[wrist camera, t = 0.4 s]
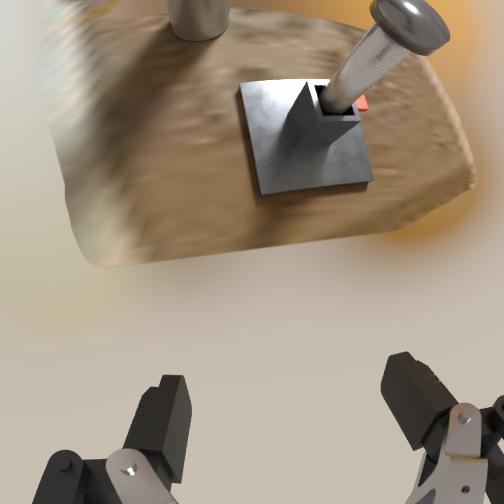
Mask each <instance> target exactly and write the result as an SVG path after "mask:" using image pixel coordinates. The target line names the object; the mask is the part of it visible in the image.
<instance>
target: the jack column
mask: <svg viewBox="0 0 504 504" xmlns="http://www.w3.org/2000/svg"><path fill="white" fill-rule="evenodd" d="M369 9H370V13H371V15H372V17H373V19H374V20H375V23H374V24H373V26H372V27H371V28H370V29H369V30H368V32H367V33H366V34H365V35H364V37H363V38H362V39H361V41H360V42H359V43H358V44H357V46H356V47H355V48H354V49H353V51H352V52H351V53H350V55H349V56H348V57H347V59H346V60H345V61H344V62H343V64H342V65H341V66H340V68H339V69H338V70H337V72H336V73H335V74H334V76H333V77H332V78H331V80H330V81H329V82H328V84H327V85H326V86H325V88H324V89H323V90H322V92H321V93H320V94H319V96H318V101H319V104H320V108H321V111H322V115H323V116H341V115H342V114H343V113H344V112H345V111H346V110H347V109H348V108H349V107H350V106H351V105H352V104H353V103H355V102H356V101H357V100H358V99H359V98H360V97H361V96H362V95H363V94H364V93H365V92H366V91H367V90H369V89H370V88H371V87H372V86H373V85H374V84H375V83H376V82H377V81H378V80H380V79H381V78H382V77H383V76H384V75H385V74H386V73H387V72H388V71H390V70H391V69H392V68H393V67H394V66H395V65H396V64H397V63H399V62H400V61H401V60H402V59H403V58H404V57H405V56H407V55H408V54H409V53H410V52H413V53H416V54H418V55H422V56H428V55H431V54H432V53H434V52H435V51H436V50H438V49H439V48H440V47H441V46H443V45H444V44H445V43H447V42H448V41H449V40H450V33H449V30H448V28H447V26H446V24H445V22H444V21H443V19H442V18H441V17H440V15H439V14H438V13H437V12H436V11H435V10H434V9H433V8H432V7H431V6H430V5H429V4H428V3H427V2H425V1H424V0H373V1H372V2H371V4H370V7H369Z"/></svg>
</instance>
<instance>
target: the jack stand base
mask: <svg viewBox="0 0 504 504" xmlns="http://www.w3.org/2000/svg"><path fill="white" fill-rule="evenodd" d="M329 81H330V80H319V79H296V80H271V81H256V82H245V83H240V86H239V90H240V95H241V100H242V105H243V110H244V115H245V120H246V125H247V130H248V135H249V140H250V145H251V151H252V156H253V161H254V166H255V172H256V177H257V183H258V188H259V193H260V196H265V195H271V194H278V193H285V192H292V191H299V190H306V189H314V188H322V187H330V186H338V185H347V184H357V183H366V182H371V181H374V180H373V175H372V170H371V166H370V161H369V157H368V153H367V149H366V145H365V141H364V137H363V133H362V130H361V126H360V122H361V118H360V114H359V111H366V110H368V106H367V103H366V100H365V97H364V94H363V95H362V96H361V97H360V98H359V99H358V100H357V101H356V102H355V103H353V104H352V105H351V106H350V107H349V108H348V109H347V110H346V111H345V112H344V113H343V114H342V115H341V116H323V115H322V111H321V108H320V104H319V101H318V96H319V94H320V93H321V92H322V90H323V89H324V88H325V86H326V85H327V84H328V82H329Z"/></svg>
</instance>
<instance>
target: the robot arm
mask: <svg viewBox="0 0 504 504" xmlns="http://www.w3.org/2000/svg"><path fill="white" fill-rule="evenodd" d="M166 2H167V6H168V12H169V17H170V21H171V26H172V30H173V32H174V34H175V35H176V36H177V37H179V38H181V39H184V40H188V41H204V40H209V39H212V38H214V37H216V36H218V35H220V34H221V33H223V32H224V31H225V30H226V29H227V27H228V24H229V11H230V0H166ZM381 393H382V396H383V398H384V400H385V401H386V403H387V405H388V406H389V408H390V410H391V412H392V413H393V415H394V417H395V418H396V420H397V422H398V424H399V426H400V427H401V429H402V431H403V433H404V435H405V436H406V438H407V440H408V442H409V444H410V445H411V447H412V449H413V450H414V451H415V450H417V449H420V448H422V447H424V448H425V450H426V451H425V452H424V454H423V457H422V461H421V465H420V468H419V472H418V475H417V479H416V482H415V485H414V488H413V491H412V493H411V495H410V496H409V498H408V499H407V501H406V503H405V504H483V500H484V494H485V492H486V494H487V496H488V498H489V500H490V502H491V504H504V454H503V452H502V451H501V449H500V448H499V446H498V444H497V443H498V442H499V441H500V439H501V438H503V439H504V395H503V396H500V397H499V398H498V399H497V400H496V402H495V403H494V405H493V406H492V407H489V408H484V409H479V410H478V408H476V407H475V406H474V405H472V404H469V403H460V404H459V403H458V402H457V400H456V399H455V398H454V397H453V396H452V394H451V393H450V392H449V391H448V389H447V388H446V387H445V386H444V385H443V384H442V382H441V381H439V379H438V377H437V376H436V375H434V373H433V372H432V371H431V369H430V368H429V367H428V366H427V365H425V364H424V363H422V362H420V361H418V360H417V361H416V360H415V359H414V358H413V357H412V356H411V355H410V353H409V352H402V353H398V354H394V355H390V356H389V358H388V360H387V364H386V368H385V371H384V375H383V378H382V381H381ZM138 406H139V407H138V408H137V410H136V413H135V416H134V418H133V421H132V424H131V427H130V429H129V432H128V435H127V437H126V440H125V443H124V446H123V448H122V449H120V450H117V451H115V452H114V453H112V454H111V455H110V456H109V458H107V459H92V460H82V459H81V457H80V456H79V455H78V454H76V453H75V452H73V451H70V450H61V451H58V452H56V453H54V454H53V455H52V456H51V457H50V459H49V461H48V464H47V466H46V468H45V471H44V474H43V476H42V478H41V481H40V483H39V486H38V489H37V492H36V494H35V497H34V500H33V503H32V504H178V502H177V501H176V500H175V499H174V497H173V496H172V494H171V493H170V490H171V484H172V483H180V484H181V481H182V474H183V467H184V460H185V454H186V447H187V441H188V434H189V428H190V423H191V416H192V406H191V401H190V397H189V394H188V390H187V386H186V382H185V378H184V376H183V375H163V376H162V379H161V382H160V385H159V387H150V388H149V389H148V390H147V391H146V392H145V393H144V394H143V395H142V397H141V400H140V402H139V405H138Z"/></svg>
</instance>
